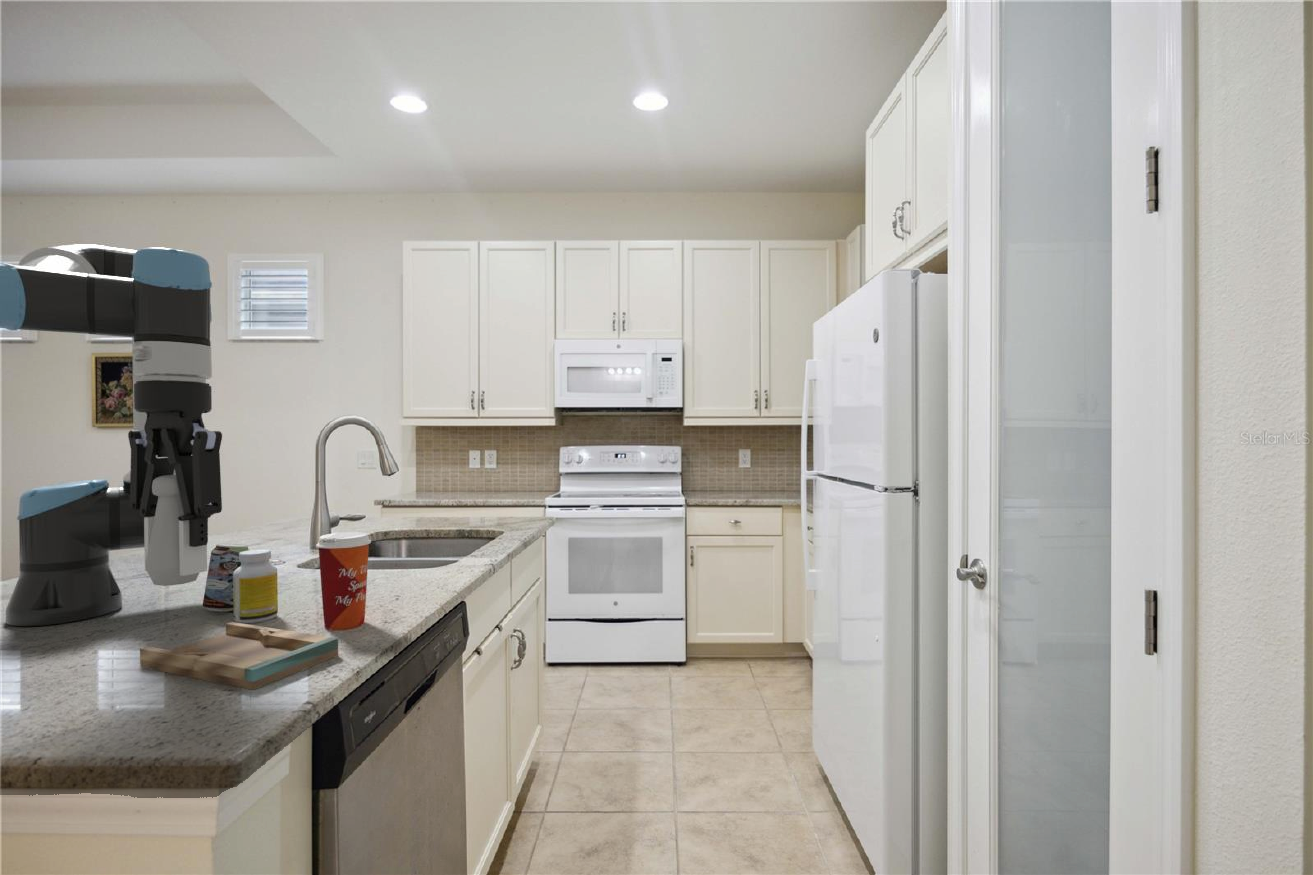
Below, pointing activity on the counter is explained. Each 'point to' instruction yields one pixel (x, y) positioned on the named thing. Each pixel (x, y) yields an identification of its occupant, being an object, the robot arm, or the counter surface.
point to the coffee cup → (343, 578)
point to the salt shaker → (166, 535)
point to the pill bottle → (255, 587)
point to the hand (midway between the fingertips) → (175, 570)
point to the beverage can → (222, 576)
